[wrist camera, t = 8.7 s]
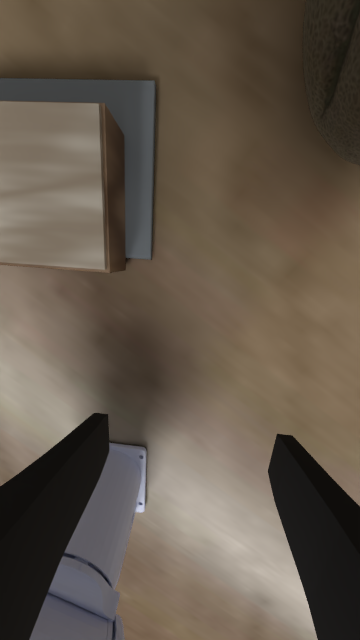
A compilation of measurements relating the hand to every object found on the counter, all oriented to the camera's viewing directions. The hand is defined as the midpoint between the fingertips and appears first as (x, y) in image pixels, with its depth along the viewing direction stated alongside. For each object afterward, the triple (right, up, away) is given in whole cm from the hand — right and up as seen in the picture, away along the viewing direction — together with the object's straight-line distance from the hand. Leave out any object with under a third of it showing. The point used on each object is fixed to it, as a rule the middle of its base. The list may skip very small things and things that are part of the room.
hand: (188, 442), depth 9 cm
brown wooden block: (-10, +9, +7) cm, 15 cm away
